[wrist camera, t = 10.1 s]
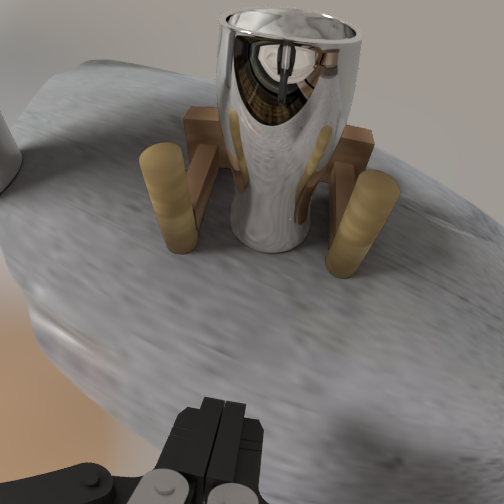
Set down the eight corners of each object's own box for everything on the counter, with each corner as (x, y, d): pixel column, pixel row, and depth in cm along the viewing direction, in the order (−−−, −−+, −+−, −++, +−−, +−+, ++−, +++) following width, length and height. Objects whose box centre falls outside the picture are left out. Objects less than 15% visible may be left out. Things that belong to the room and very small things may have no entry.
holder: (155, 250, 22) (124, 169, 15) (196, 150, 28) (187, 75, 21) (363, 281, 21) (411, 208, 14) (356, 172, 27) (381, 100, 20)
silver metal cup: (207, 238, 22) (182, 28, 10) (247, 176, 26) (252, 0, 13) (298, 273, 21) (358, 58, 8) (325, 204, 25) (373, 25, 12)
